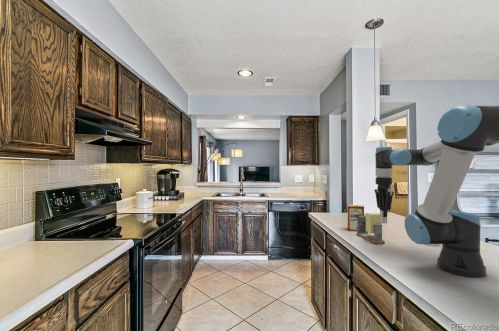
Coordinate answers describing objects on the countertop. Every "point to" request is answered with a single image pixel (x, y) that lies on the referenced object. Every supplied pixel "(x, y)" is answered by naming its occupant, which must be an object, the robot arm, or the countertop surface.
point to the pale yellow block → (372, 221)
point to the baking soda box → (354, 216)
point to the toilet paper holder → (365, 235)
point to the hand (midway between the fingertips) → (383, 223)
